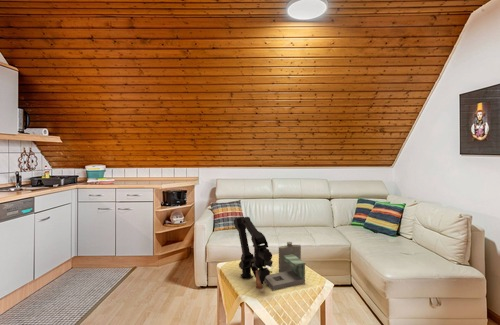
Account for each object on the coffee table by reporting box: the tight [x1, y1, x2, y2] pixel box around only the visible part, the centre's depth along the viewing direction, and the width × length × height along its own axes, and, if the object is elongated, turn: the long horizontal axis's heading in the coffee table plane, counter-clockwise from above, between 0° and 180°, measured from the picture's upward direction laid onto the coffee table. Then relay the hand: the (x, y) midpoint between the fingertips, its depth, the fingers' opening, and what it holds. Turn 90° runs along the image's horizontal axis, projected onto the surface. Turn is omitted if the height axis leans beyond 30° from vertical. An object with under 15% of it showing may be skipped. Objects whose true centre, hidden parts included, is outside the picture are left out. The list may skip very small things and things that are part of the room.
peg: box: [255, 269, 263, 290], centre depth 171 cm, size 4×4×10 cm
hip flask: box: [278, 241, 302, 273], centre depth 193 cm, size 16×4×20 cm, turn 105°
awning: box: [283, 254, 306, 280], centre depth 180 cm, size 15×7×10 cm, turn 22°
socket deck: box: [264, 270, 306, 292], centre depth 178 cm, size 14×22×3 cm, turn 112°
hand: (259, 280), depth 171 cm, fingers open, 9 cm apart
